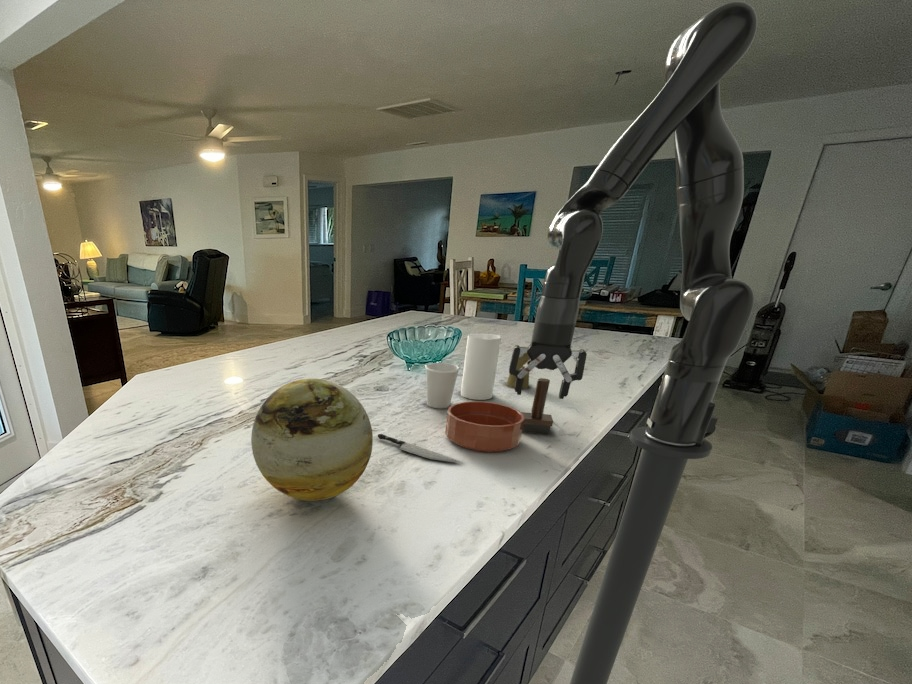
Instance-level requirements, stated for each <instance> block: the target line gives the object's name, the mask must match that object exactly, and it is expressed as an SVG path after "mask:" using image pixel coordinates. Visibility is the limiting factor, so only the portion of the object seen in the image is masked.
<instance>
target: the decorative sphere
mask: <svg viewBox="0 0 912 684" xmlns="http://www.w3.org/2000/svg"><path fill="white" fill-rule="evenodd" d="M252 423H253V424H252V429H251V436H250V439H251V440H250V442H251V443H250V445H251V450H252V451H251V453H252V456H253V459H254V462H255V464H256V466H257V469H258V470H259V472H260V474H261V475H262V476H263V478H264V479H265V480H266V481H267V482H268V484H270V485H271V487H273V488H274V489H276V490H277V491H278V492H280V493H282V494H283V495H285V496H287V497H289V498H293V499H297V500H299V501H307V502H309V501H310V502H312V501H313V502H315V501H324V500H328V499H331V498H335V497H337V496H338V495H341V494H343V493H344V492H346V491H347V490H349V489H350V488H351V487H352V486H354V484H355V483H356V482H358V480H359V479H360V478H361V477H362V475H363V474H364V472H365V471H366V468H367V466H368V464H369V462H370V459H371V455H372V451H373V445H374V441H373V439H374V438H373V429H372V424H371V420H370V418H369V415H368V413H367V411H366V410H365V407H364V406H363V404H362V403H361V401H360V400H359V399H358V398H357V397H356V396H355V395H354V394H353V393H352V392H351V391H350V390H348V389H347V388H345V387H344V386H342V385H340V384H338V383H335V382H333V381H332V380H328V379H322V378H303V379H298V380H293V381H290V382H289V383H286V384H284V385H282V386H280V387H279V388H277V389H276V390H275V391H273V392H272V393H271V394H270V395H269V396H268V397H267V398H265V400H264V401H263V403H262V405H261V406H260V408H259V409H258V411H257V413H256V414H255V417H254V421H253V422H252Z"/></svg>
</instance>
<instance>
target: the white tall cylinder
mask: <svg viewBox="0 0 912 684" xmlns="http://www.w3.org/2000/svg"><path fill="white" fill-rule="evenodd" d="M466 338H467V340H466V347H465V353H464V354H465V355H464V363H463V371H462V377H461V378H462V379H461V387H460V396H461V397H463V398H466V399H468V400H469V399H470V400H473V401H475V400H476V401H486V400H490V399H492V397H493V393H494V387H495V381H496V375H497V368H498V362H499V355H500V348H501V342H502V336H501V335H499V334H494V333H486V332H484V333H483V332H478V333H477V332H476V333H470V334H468V335H467V337H466Z"/></svg>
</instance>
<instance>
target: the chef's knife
mask: <svg viewBox="0 0 912 684" xmlns="http://www.w3.org/2000/svg"><path fill="white" fill-rule="evenodd" d="M377 438H378V439H380V440H384V441H388V442H391V443H394V444H396V445H398V446H400V447H399V450H401V451H404V452H407V453H410V454H413V455H416V456H419V457H422V458H425V459H429V460H435V461H442V462H448V463H452V462H453V463H455V462H457V463H458V462H459V463H460V460H457V459H455V458H453V457H449V456H447V455H444V454H441V453H438V452H435V451H433V450H430V449H426V448H424V447H420V446H417V445H416V444H415V445H414V444H412V443H408V442H407V441H404V440H401V439H397V438H394V437H391V436H389V435H385V434H383V433H378V434H377Z"/></svg>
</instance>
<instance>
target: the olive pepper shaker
mask: <svg viewBox="0 0 912 684" xmlns="http://www.w3.org/2000/svg"><path fill="white" fill-rule="evenodd" d="M525 347H526V348H528V347H529V346H525ZM529 360H530V358H529V356H528V354H527V353H524V354H523V356H522V357H519V358H518V363H517V367H516V369H518V370H520V369H521V368H522V367H523V366H524V365H525V363H527V362H528V361H529ZM515 383H516V376H514V375H511V374H509V375H508V377H507V380H506V386H507V387H509V388H514V389H515ZM529 384H530V372H528V373H527V374H526V375H525V376H524V381H523V386H522V389H528V388H529Z"/></svg>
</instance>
